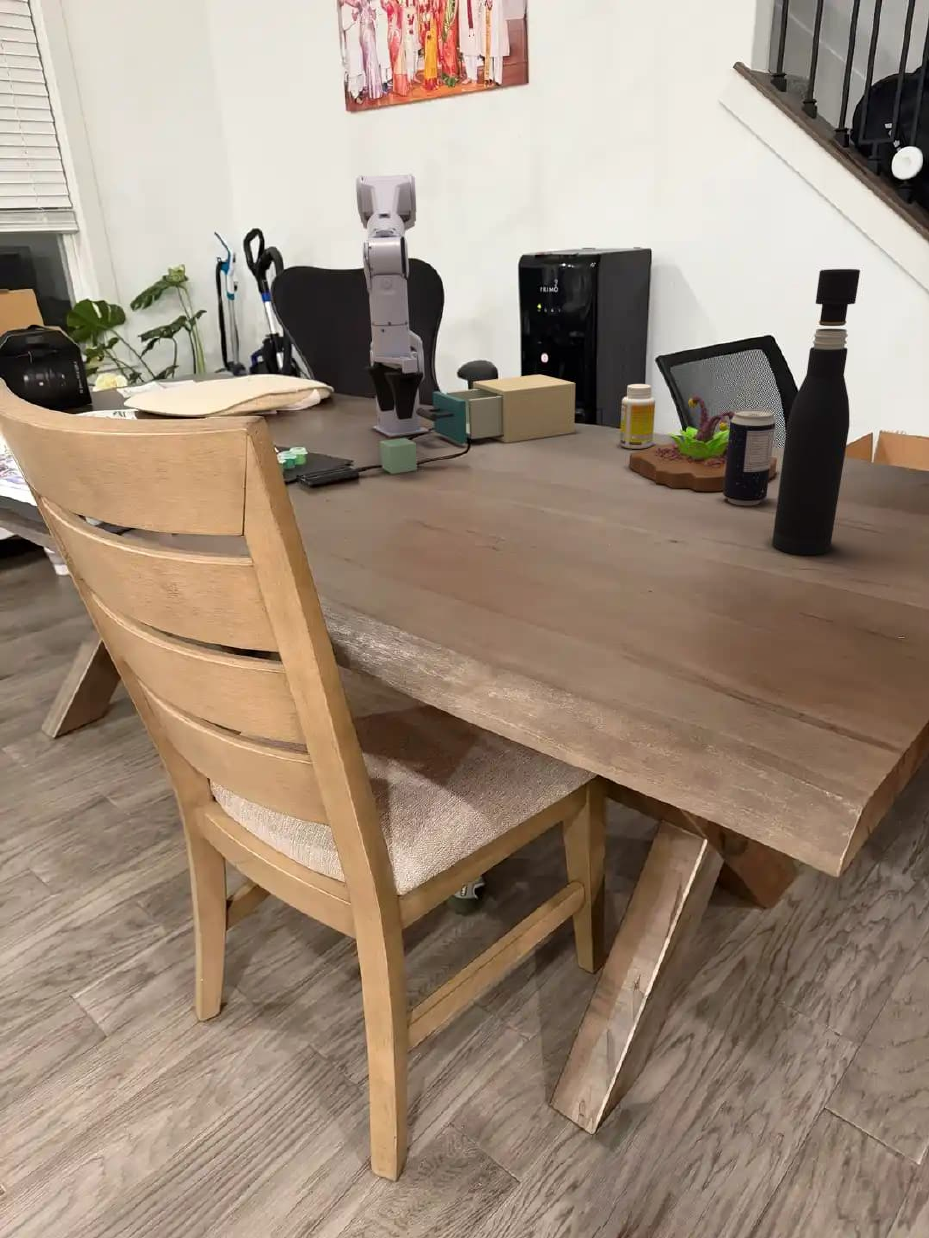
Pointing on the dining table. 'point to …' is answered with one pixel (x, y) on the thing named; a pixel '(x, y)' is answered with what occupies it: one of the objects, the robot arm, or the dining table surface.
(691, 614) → the dining table surface
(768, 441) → the beverage can
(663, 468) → the plant
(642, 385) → the supplement bottle
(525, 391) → the beige box
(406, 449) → the sage green cube
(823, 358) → the black water bottle
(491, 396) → the drawer
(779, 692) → the dining table surface
